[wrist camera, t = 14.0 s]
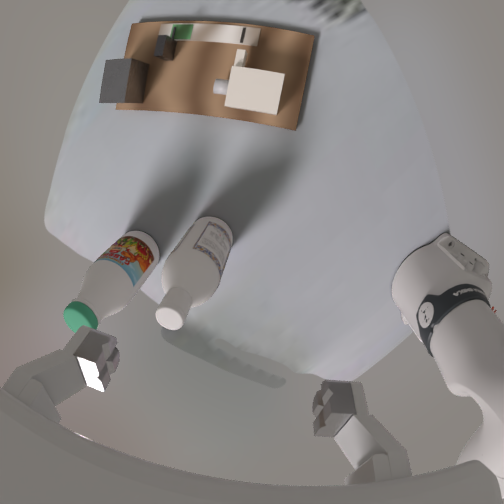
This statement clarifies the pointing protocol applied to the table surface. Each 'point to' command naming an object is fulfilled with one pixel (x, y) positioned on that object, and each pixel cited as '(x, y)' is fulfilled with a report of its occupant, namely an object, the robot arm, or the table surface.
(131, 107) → the wooden tray
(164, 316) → the bath foam
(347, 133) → the table surface
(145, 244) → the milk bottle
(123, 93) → the dark grey cube
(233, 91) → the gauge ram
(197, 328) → the table surface
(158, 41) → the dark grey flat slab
